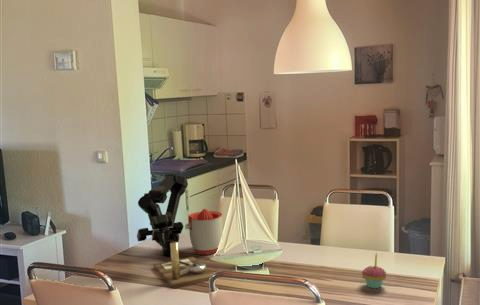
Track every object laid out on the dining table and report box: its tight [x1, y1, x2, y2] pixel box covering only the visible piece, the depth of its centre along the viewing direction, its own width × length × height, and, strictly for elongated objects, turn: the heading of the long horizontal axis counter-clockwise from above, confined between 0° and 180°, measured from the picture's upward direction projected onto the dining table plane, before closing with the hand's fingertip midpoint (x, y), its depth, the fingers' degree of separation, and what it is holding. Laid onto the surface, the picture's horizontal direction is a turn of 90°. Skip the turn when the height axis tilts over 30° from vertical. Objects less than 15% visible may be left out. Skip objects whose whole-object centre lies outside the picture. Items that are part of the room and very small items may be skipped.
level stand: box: [153, 256, 214, 289], centre depth 197 cm, size 26×18×2 cm
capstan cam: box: [170, 241, 207, 279], centre depth 195 cm, size 19×15×14 cm
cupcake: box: [361, 252, 387, 289], centre depth 174 cm, size 9×8×12 cm
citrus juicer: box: [184, 208, 223, 256], centre depth 222 cm, size 16×17×20 cm
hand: (165, 249), depth 196 cm, fingers closed
